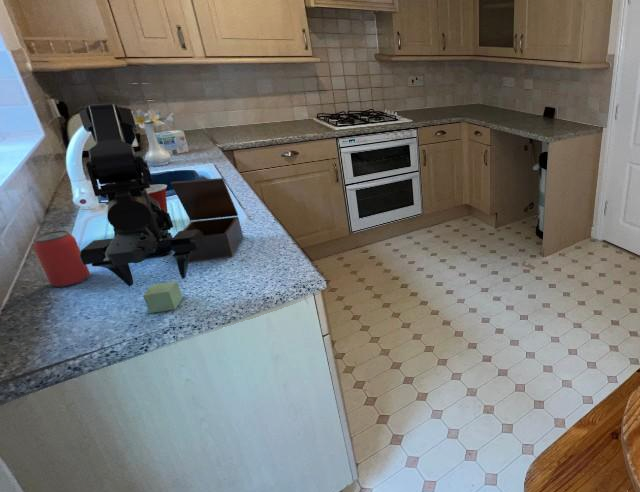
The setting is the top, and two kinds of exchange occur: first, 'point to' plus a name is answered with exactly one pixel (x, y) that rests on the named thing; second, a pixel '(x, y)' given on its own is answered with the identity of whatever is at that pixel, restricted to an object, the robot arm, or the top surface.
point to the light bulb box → (172, 141)
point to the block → (163, 297)
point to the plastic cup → (158, 194)
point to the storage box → (216, 238)
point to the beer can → (60, 258)
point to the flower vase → (153, 135)
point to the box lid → (205, 198)
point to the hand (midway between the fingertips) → (158, 281)
